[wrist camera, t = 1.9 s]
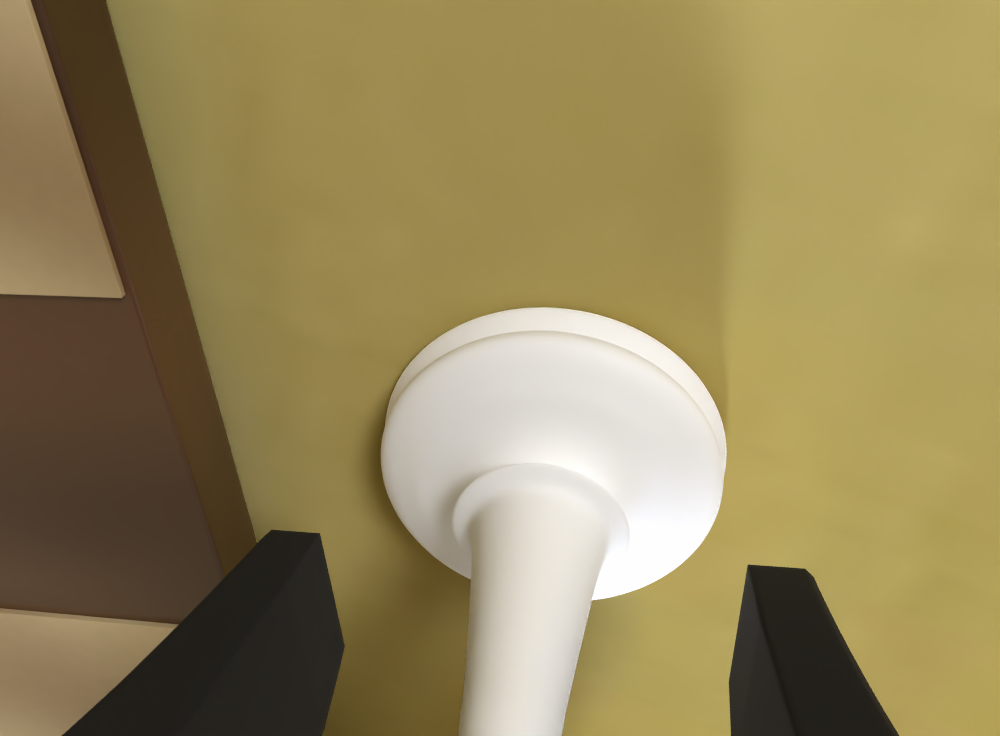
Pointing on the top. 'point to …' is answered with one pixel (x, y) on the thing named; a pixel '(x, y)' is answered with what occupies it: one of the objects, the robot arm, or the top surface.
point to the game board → (94, 384)
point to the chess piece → (548, 488)
